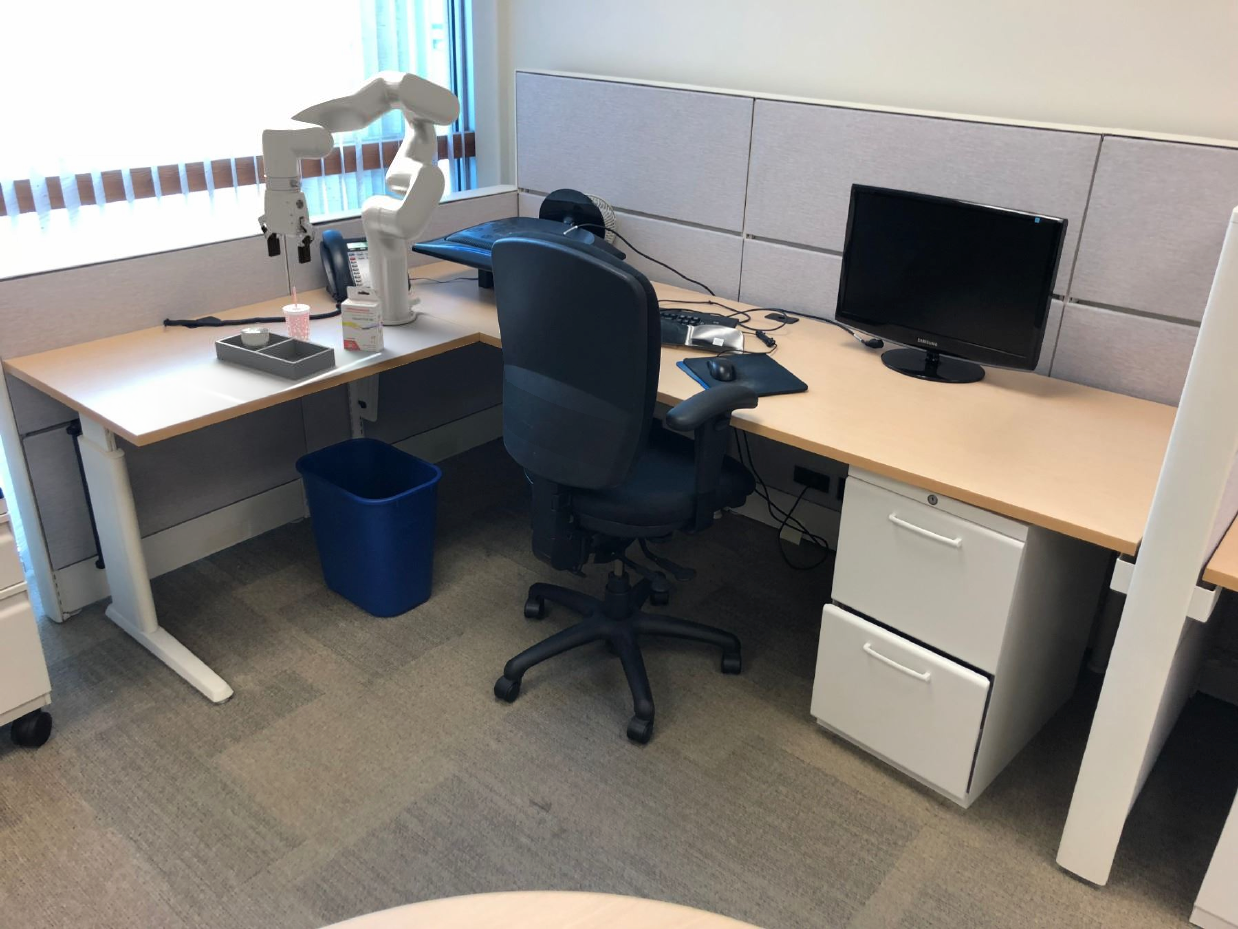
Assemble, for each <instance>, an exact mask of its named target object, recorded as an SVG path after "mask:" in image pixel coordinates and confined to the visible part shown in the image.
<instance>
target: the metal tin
mask: <svg viewBox="0 0 1238 929" xmlns="http://www.w3.org/2000/svg"><path fill="white" fill-rule="evenodd" d="M268 331H269V329H268V328H266V327H261V326H252V327H246V328H244V329H243V328H242V330H241V331H240V333H241V339H242V347H243V348H244V349H248V350H251V351H257V350H260V349H263V348H265V347H268V346H270V340H269V332H268Z"/></svg>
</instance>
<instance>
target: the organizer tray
mask: <svg viewBox="0 0 1238 929" xmlns="http://www.w3.org/2000/svg"><path fill="white" fill-rule="evenodd" d="M268 332H269V340H270V346H268V347H265V348H263V349H260V350H257V351H251V350H248V349H244V348H243V347H242V339H241V332H240V333H236V334H235V335H230V336H227V337H225V338H222V339H221V338H220V339H218V340H215V341H214V344H215V350H216V351H215V352H216V358H217V359H220V360H222V361H226V362H229V363H234V364H237V365H240V366H243V367H247V368H251V369H254V370H257V371H260V372H264V373H267V374H270V375H275V376H277V377H281V378H285V379H288V380H292V381H298V380H301V379H303V378H306V377H308V376H311V375H314V374H316V373H319V372H321V371H324V370H326V369H329V368H331V367H334V366H336V355H335V348H333V347H329V346H326V345H322V344H318V343H314V342H312V341H310V342H307V341H304V340H300V339H296V338H292V337H289V335H285V334H281V333H277V332H274V331H269V330H268Z"/></svg>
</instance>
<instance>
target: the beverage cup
mask: <svg viewBox="0 0 1238 929" xmlns="http://www.w3.org/2000/svg"><path fill="white" fill-rule="evenodd" d="M292 290H293V298H294V303H291V304H288V305H285V306H283V307H282V312H283V313H284V318H285V322H286V328H287V336H289V337H292V338H296V339H300V340H304V341H307V342H311V340H310V339H311V336H310V333H311V332H310V309H311V308H310V307H311V306H310V305H307V304H302V303H298V300H297V292H296V291H297V289H296V287H295V286H293V287H292Z"/></svg>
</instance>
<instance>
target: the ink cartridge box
mask: <svg viewBox="0 0 1238 929" xmlns="http://www.w3.org/2000/svg"><path fill="white" fill-rule="evenodd" d="M346 292H347V298H346V299H345V300H344V301H342V302H341V303H340V310H341V311H340V312H341V325H342V340H343V349H344V350H355V351H368V352H376V353H378V354H379V353H380V350H381V351H382V349H383V348H385V347H384V346H385V342H384V340H385V339H384V329H383V328H384V325H383V323H382V305H381V300H380V290H379V289H374V288H371V287H361V286H351V285H350V286H349V285H348V286H347V287H346ZM363 292H365V293H368V294H361V293H363Z"/></svg>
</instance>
